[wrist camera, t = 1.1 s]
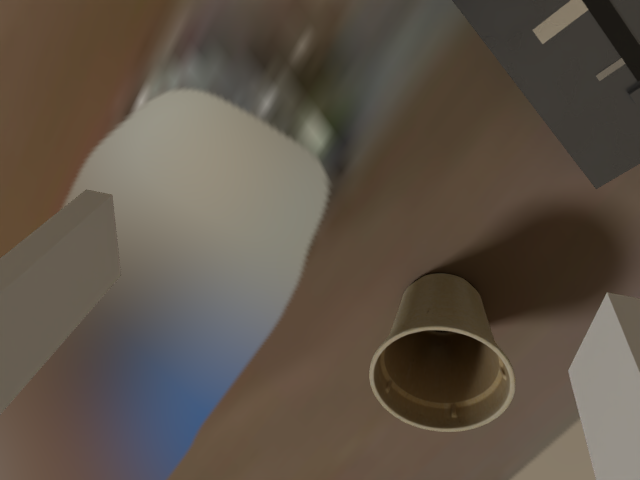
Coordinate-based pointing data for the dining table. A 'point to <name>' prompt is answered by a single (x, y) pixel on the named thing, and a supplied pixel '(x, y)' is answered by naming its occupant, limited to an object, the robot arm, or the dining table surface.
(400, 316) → the flower pot
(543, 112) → the console
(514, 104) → the dining table surface
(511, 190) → the dining table surface
